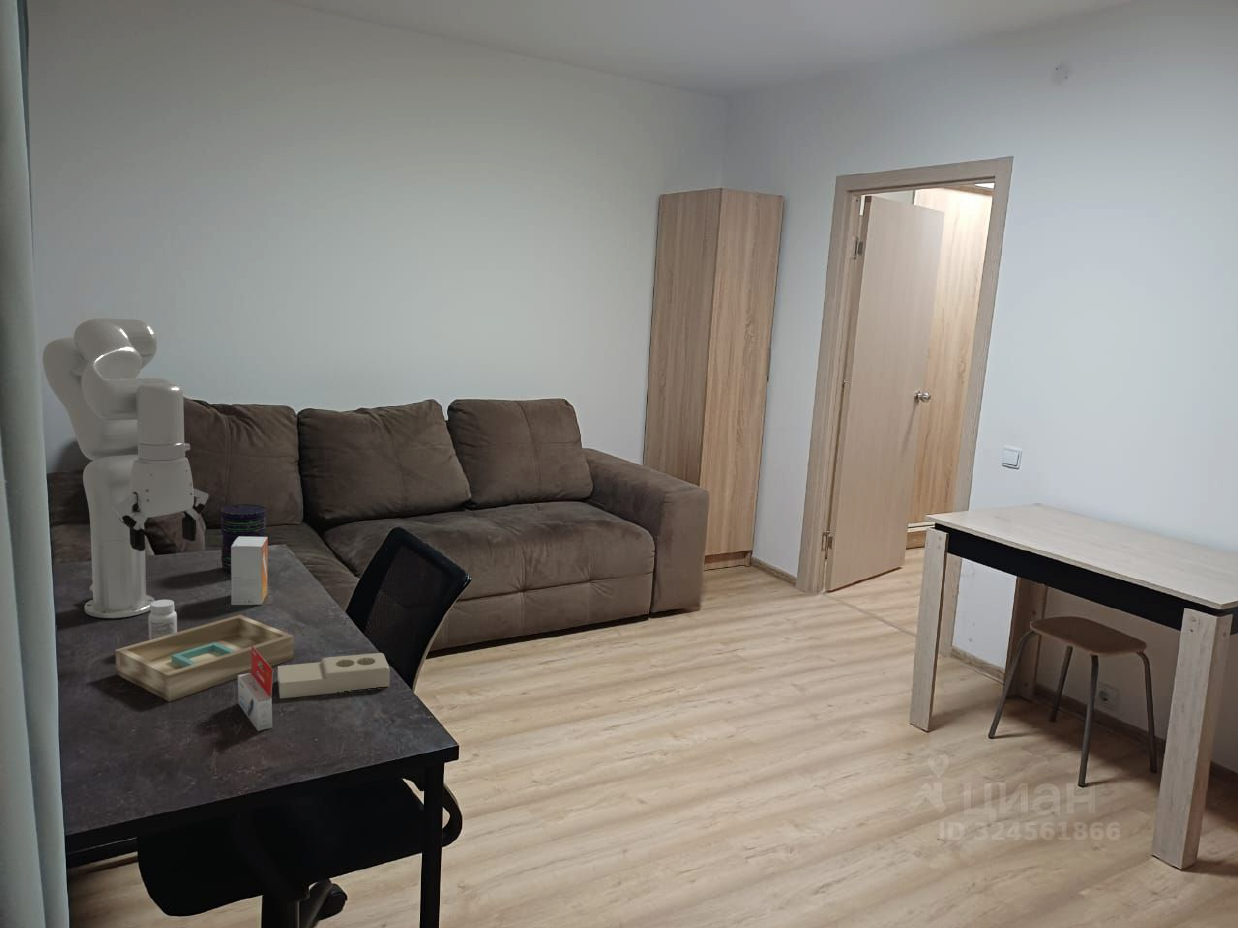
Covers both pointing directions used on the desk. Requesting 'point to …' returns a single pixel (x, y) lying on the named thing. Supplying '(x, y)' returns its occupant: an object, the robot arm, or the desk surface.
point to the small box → (249, 570)
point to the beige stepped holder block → (333, 675)
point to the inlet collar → (199, 653)
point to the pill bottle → (162, 619)
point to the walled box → (202, 656)
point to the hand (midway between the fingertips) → (164, 544)
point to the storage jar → (240, 528)
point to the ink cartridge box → (257, 692)
